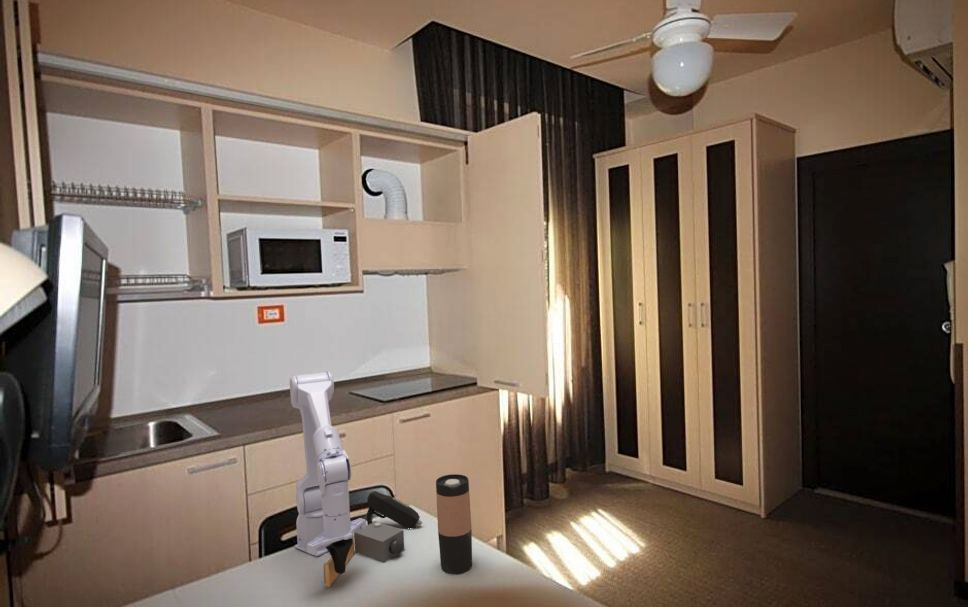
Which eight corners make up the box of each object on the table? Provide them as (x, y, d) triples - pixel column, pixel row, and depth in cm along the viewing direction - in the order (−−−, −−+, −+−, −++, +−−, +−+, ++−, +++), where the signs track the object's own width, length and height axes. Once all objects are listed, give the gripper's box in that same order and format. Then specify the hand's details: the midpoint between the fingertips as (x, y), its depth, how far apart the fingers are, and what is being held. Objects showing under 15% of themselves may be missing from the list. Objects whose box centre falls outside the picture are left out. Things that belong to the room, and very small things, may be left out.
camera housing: (355, 552, 133) (353, 529, 132) (376, 540, 138) (375, 519, 138) (388, 564, 126) (387, 540, 126) (409, 551, 132) (408, 529, 131)
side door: (349, 551, 133) (348, 532, 132) (354, 551, 132) (353, 532, 132) (323, 586, 117) (322, 564, 117) (329, 586, 117) (328, 564, 117)
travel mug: (454, 554, 129) (449, 472, 128) (480, 563, 124) (475, 477, 124) (433, 569, 123) (428, 482, 122) (459, 578, 118) (454, 488, 118)
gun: (408, 550, 144) (423, 517, 143) (356, 520, 147) (371, 488, 146) (412, 545, 147) (426, 513, 146) (361, 516, 150) (375, 484, 148)
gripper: (320, 528, 110) (324, 593, 110) (373, 503, 122) (377, 562, 122) (299, 521, 114) (303, 584, 115) (352, 497, 126) (356, 554, 126)
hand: (340, 572), depth 119 cm, fingers closed
